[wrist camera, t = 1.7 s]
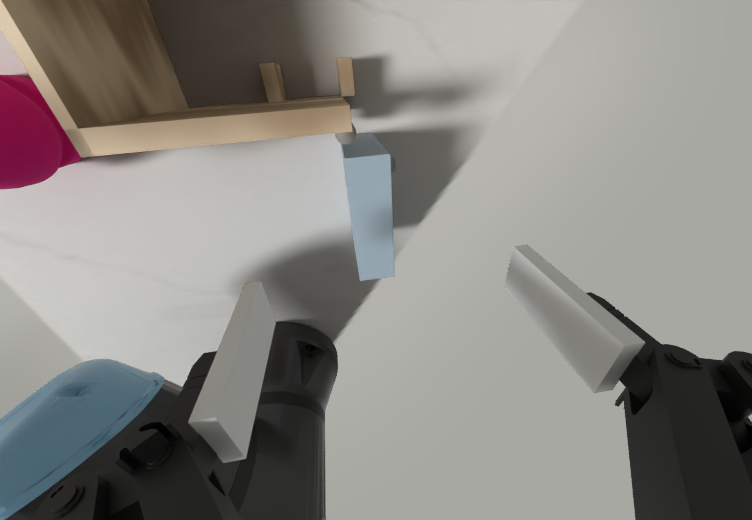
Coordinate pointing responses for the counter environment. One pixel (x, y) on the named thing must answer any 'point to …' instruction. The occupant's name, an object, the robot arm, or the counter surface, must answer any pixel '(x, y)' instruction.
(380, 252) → the door
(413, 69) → the counter surface
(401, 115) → the counter surface
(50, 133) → the pepper mill
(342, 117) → the cabinet
